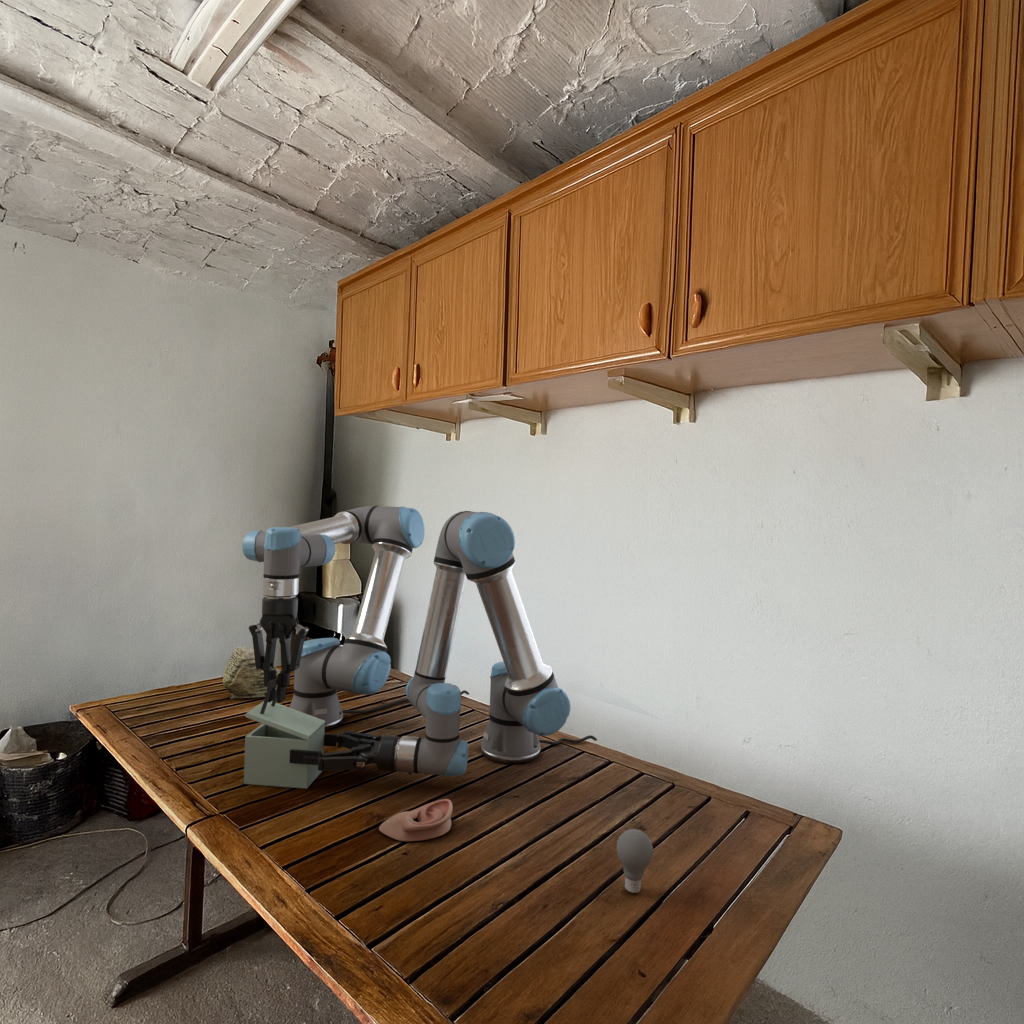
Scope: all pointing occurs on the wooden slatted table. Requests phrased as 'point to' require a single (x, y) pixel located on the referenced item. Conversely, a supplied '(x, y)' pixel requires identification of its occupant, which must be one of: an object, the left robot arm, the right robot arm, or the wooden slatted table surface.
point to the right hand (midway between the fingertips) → (299, 746)
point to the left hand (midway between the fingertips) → (276, 700)
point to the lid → (284, 716)
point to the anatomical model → (420, 822)
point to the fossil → (244, 675)
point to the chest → (279, 758)
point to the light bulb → (634, 857)
